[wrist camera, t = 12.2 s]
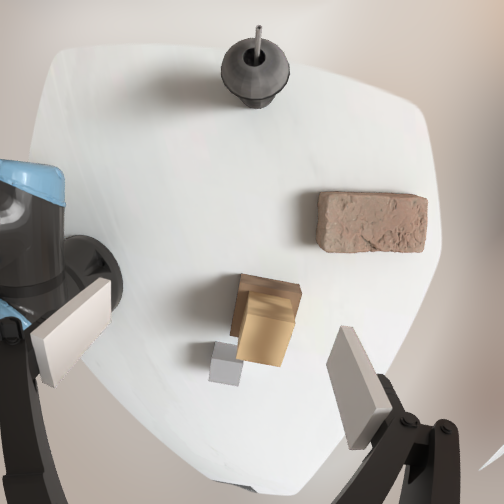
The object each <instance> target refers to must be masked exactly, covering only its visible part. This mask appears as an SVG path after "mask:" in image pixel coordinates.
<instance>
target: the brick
mask: <svg viewBox="0 0 504 504" xmlns="http://www.w3.org/2000/svg"><path fill="white" fill-rule="evenodd" d="M318 200H319V201H318V203H317V206H318V223H317V229H316V241H317V244H319V246H320V248H322V249H323V250H324V251H326V252H328V253H334V252H335V253H357V252H368V251H371V252H375V251H384V252H389V251H392V252H400V253H403V252H404V253H411V252H417V253H420V252H423V250H424V245H425V240H426V232H427V206H428V200H427V199H426V198H423V197H419V196H417V195H413V194H394V193H364V192H361V193H357V192H338V191H336V192H321V193H320V194H319V198H318Z"/></svg>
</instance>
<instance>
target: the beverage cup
mask: <svg viewBox="0 0 504 504" xmlns="http://www.w3.org/2000/svg"><path fill="white" fill-rule="evenodd" d="M261 33H262V26H261V25H257V26H256V37H255V38H248V39H244V40H241V41H239V42H238V43H236V44H235V45H233V46H232V47H231V48H230V49H229V50H228V51H227V52H226V54H225V56H224V59H223V62H222V66H221V77H222V80H223V82H224V85H225V86H226V87H227V88H228V89H229V91H230V92H231V93H233V94H234V95H236V96H238V97H239V98H240V99H241V100H242V101H243V102H244V104H246V105H247V106H249V107H250V108H254V109H261V108H264V107H266V106H267V105H269V104H270V103H271V101H272V100H273V99H274V97H275V95H276V94H277V93H279V92H280V91H281V90H282V89H283V88H284V86H285V85H286V84H287V82H288V78H289V75H290V69H289V63H288V61H287V58H286V56H285V54H284V52H283V51H282V50H281V49H280V48H279V47H278V46H277V45H276V44H274V43H272V42H271V41H269V40H266V39H262V38H261Z"/></svg>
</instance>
